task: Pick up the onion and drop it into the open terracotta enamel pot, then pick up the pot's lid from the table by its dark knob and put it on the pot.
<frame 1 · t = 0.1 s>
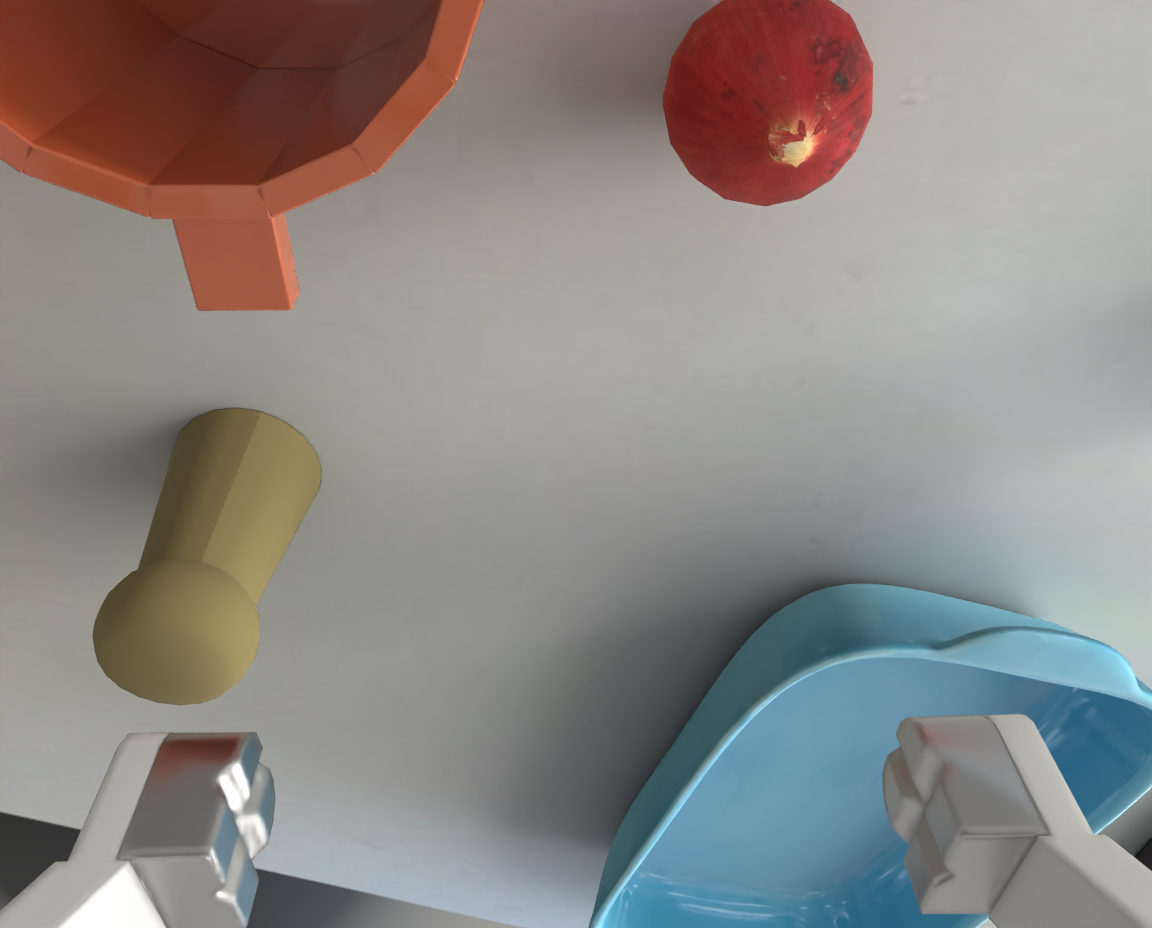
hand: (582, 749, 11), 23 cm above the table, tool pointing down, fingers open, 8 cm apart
onion: (741, 64, 29), on the table
casserole dish: (816, 749, 52), on the table
olive pawn piece: (250, 464, 38), on the table
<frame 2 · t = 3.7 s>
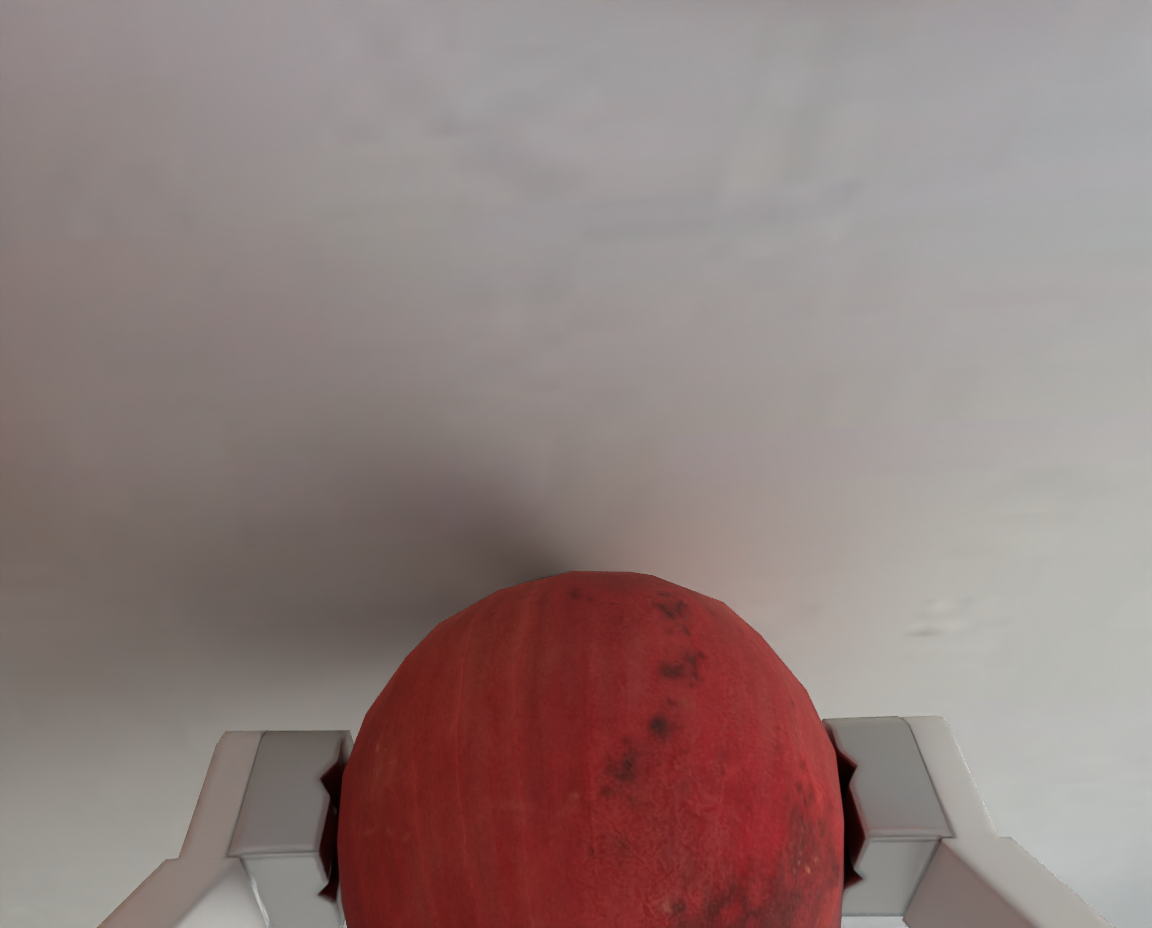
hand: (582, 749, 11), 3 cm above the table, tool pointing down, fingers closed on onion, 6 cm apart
onion: (579, 584, 14), on the table, touching gripper
when the fingers open (11 cm above the table, at t = 11.0 s): onion drops 7 cm, resting on pot.
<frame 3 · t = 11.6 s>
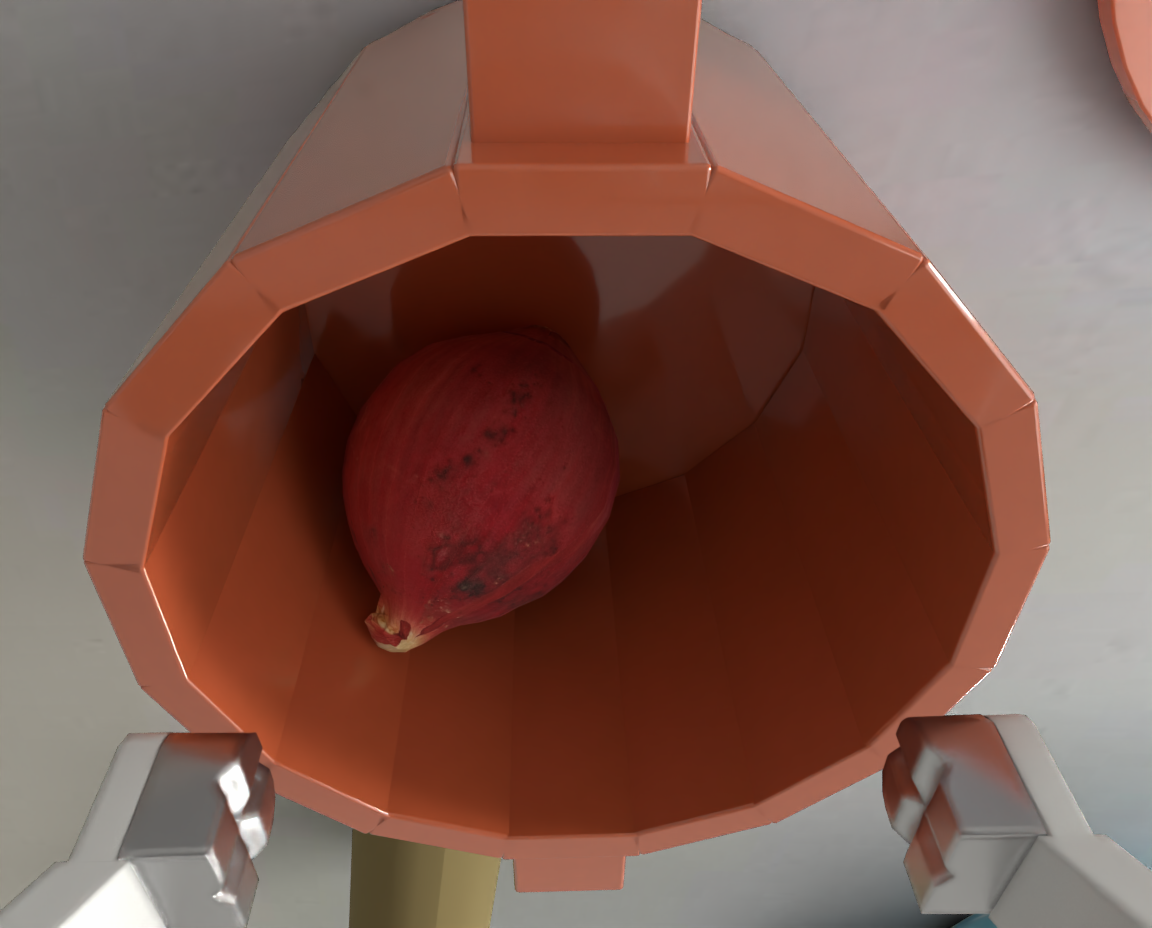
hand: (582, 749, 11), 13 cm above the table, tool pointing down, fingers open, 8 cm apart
pot: (560, 296, 22), on the table
onion: (557, 325, 21), point 1 cm above the table, touching pot
olive pawn piece: (432, 803, 35), on the table
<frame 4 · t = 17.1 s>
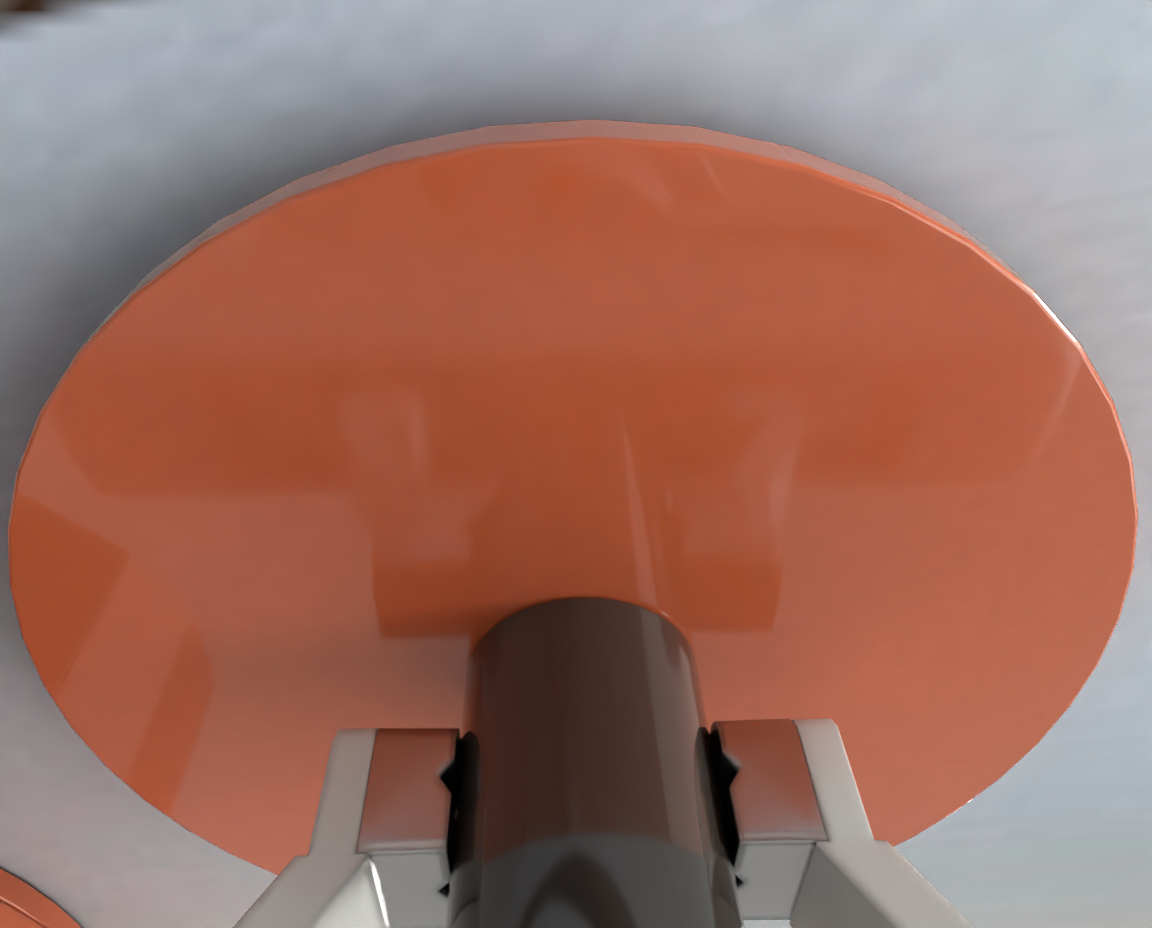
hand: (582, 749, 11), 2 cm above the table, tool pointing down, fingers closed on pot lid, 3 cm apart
pot lid: (579, 642, 13), point 1 cm above the table, touching gripper
when the fingers open (12 cm above the table, at t = 26.2 s): pot lid stays where it is, resting on pot.
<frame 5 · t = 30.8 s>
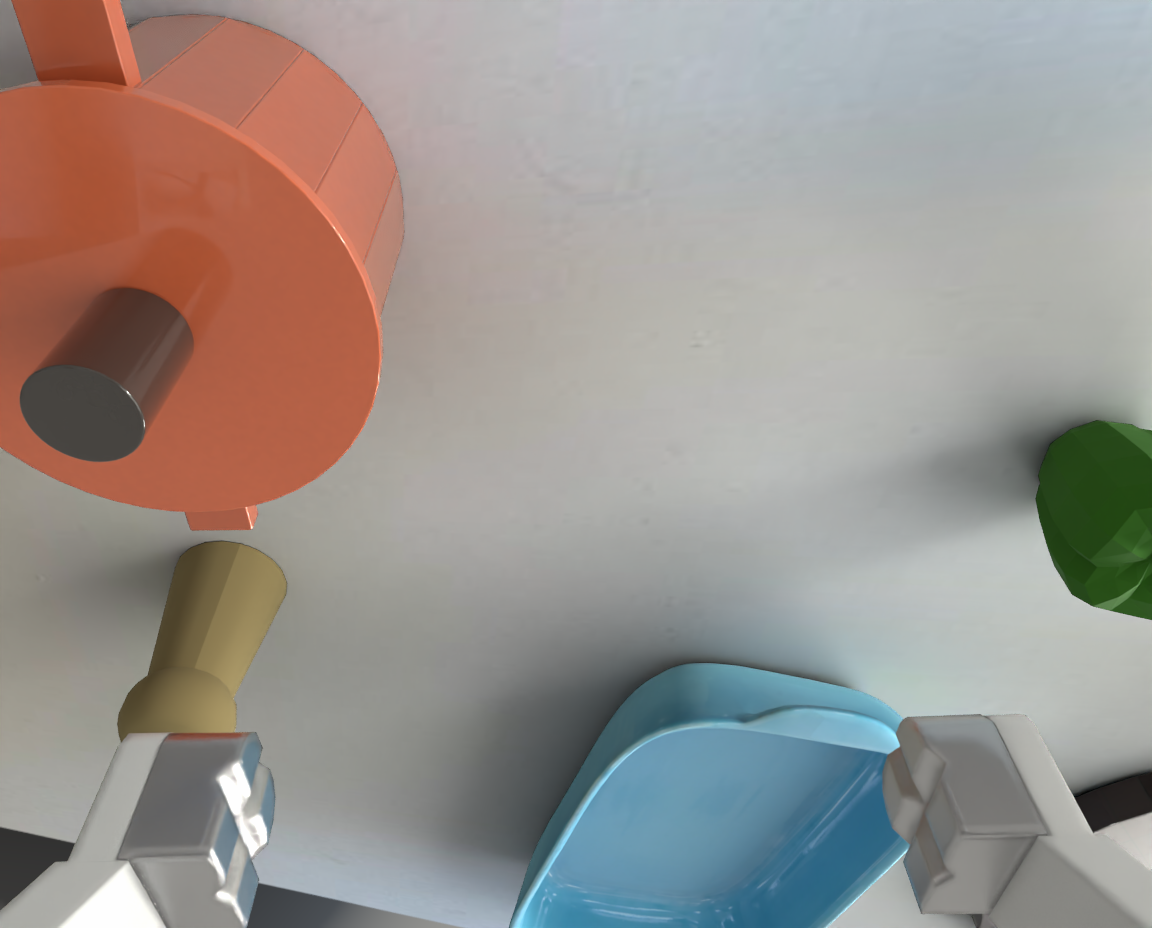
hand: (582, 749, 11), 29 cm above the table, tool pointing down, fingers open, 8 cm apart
bell pepper: (1089, 457, 47), on the table
disc: (1151, 862, 73), on the table
pot: (235, 197, 36), on the table
casserole dish: (695, 784, 64), on the table
pot lid: (147, 324, 28), point 10 cm above the table, touching pot
olive pawn piece: (232, 578, 50), on the table
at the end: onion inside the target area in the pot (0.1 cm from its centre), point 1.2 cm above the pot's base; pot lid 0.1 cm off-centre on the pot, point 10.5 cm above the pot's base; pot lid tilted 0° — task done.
